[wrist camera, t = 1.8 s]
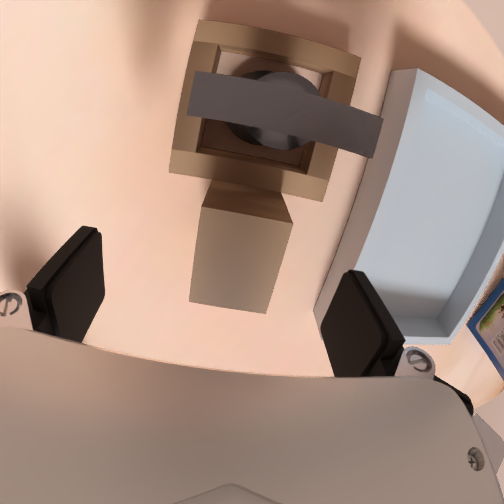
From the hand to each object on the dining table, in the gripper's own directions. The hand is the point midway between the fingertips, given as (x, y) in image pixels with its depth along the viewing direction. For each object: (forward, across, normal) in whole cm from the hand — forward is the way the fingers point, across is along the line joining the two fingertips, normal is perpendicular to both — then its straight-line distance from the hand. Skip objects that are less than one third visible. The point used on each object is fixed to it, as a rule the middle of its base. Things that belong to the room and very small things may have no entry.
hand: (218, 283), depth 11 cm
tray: (+7, -14, -2) cm, 16 cm away
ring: (+7, -1, -4) cm, 8 cm away
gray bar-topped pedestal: (+7, -1, -6) cm, 10 cm away
